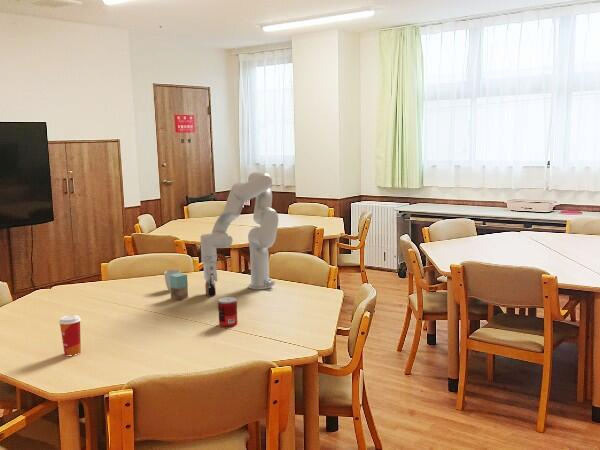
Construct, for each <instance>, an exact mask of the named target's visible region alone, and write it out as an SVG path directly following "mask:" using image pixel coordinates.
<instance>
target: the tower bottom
mask: <svg viewBox="0 0 600 450" xmlns="http://www.w3.org/2000/svg"><path fill="white" fill-rule="evenodd" d="M188 298H189V290H188V287H184V288H180V289H176V288H171V291H170V300H171V301H180V302H181V301H184V300H186V299H188Z"/></svg>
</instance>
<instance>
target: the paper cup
mask: <svg viewBox="0 0 600 450" xmlns="http://www.w3.org/2000/svg"><path fill="white" fill-rule="evenodd" d="M81 320H82V318H81V317H80V315H78V314H72V315H65V316H62V317H60V318H59V321H58V324H59V326H60V334H61V339H62V347H63V351H64V356H65V355H75V354H78V353H80V354H81ZM78 355H79V354H78Z"/></svg>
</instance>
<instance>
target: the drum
mask: <svg viewBox="0 0 600 450" xmlns="http://www.w3.org/2000/svg"><path fill="white" fill-rule="evenodd" d="M204 284H205V285H204V286H205V296H206V297H210V296H209V290H208V288H209V282H208V283H206V282H205V283H204ZM210 284H211V283H210ZM216 290H217V289H216V286H215V295H212V296H211V297H215V296H217V294H216V293H217V291H216Z"/></svg>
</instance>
